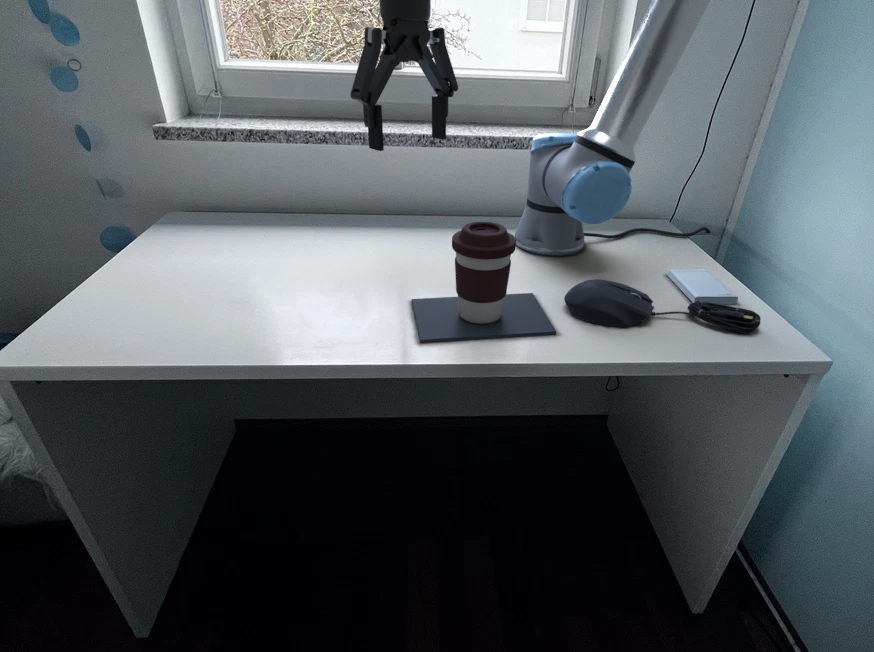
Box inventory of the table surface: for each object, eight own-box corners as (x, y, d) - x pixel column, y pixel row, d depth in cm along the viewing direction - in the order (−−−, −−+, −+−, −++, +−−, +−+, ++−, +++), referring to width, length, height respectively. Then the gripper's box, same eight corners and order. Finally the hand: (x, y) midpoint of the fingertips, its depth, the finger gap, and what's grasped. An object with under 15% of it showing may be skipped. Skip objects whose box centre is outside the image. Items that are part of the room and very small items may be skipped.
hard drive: (739, 296, 98) (708, 268, 109) (695, 296, 98) (668, 268, 108) (736, 304, 99) (705, 275, 110) (692, 305, 99) (666, 276, 109)
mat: (532, 295, 100) (532, 292, 99) (556, 334, 88) (556, 331, 88) (411, 302, 96) (411, 298, 96) (420, 343, 85) (420, 339, 84)
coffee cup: (506, 332, 87) (514, 242, 79) (445, 325, 88) (446, 236, 80) (511, 304, 95) (519, 220, 87) (455, 298, 96) (458, 215, 88)
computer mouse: (562, 298, 99) (566, 270, 96) (746, 313, 96) (756, 285, 93) (563, 323, 91) (568, 293, 88) (763, 341, 88) (775, 311, 85)
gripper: (448, -9, 88) (447, 130, 100) (315, -16, 73) (332, 150, 85) (482, -9, 84) (477, 137, 96) (349, -16, 69) (361, 159, 80)
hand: (409, 143), depth 90 cm, fingers open, 13 cm apart
